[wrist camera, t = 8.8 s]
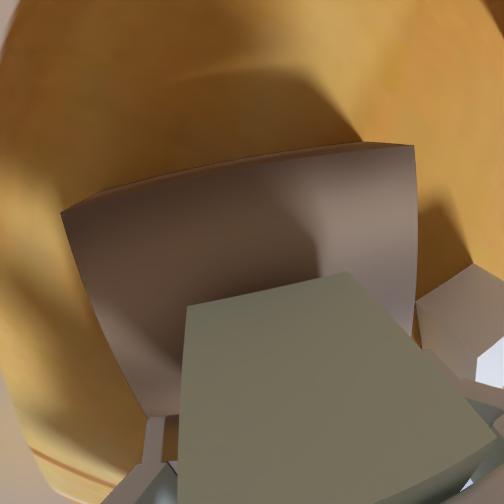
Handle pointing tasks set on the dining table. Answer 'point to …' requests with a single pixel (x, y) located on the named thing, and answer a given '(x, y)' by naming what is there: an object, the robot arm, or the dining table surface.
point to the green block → (317, 404)
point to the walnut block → (241, 245)
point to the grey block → (466, 325)
